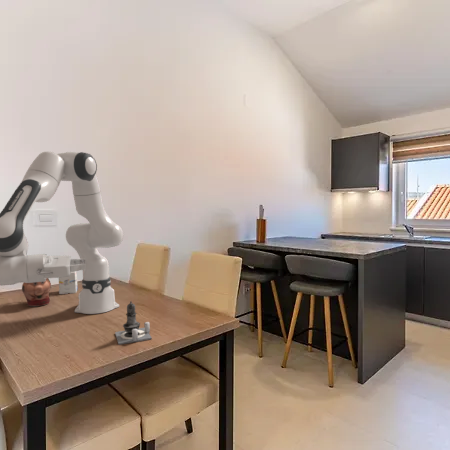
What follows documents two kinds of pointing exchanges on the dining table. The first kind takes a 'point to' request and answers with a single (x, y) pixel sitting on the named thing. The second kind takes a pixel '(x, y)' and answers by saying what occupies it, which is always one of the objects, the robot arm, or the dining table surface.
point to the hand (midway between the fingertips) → (85, 263)
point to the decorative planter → (37, 292)
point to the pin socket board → (123, 341)
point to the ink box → (68, 284)
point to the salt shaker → (131, 320)
